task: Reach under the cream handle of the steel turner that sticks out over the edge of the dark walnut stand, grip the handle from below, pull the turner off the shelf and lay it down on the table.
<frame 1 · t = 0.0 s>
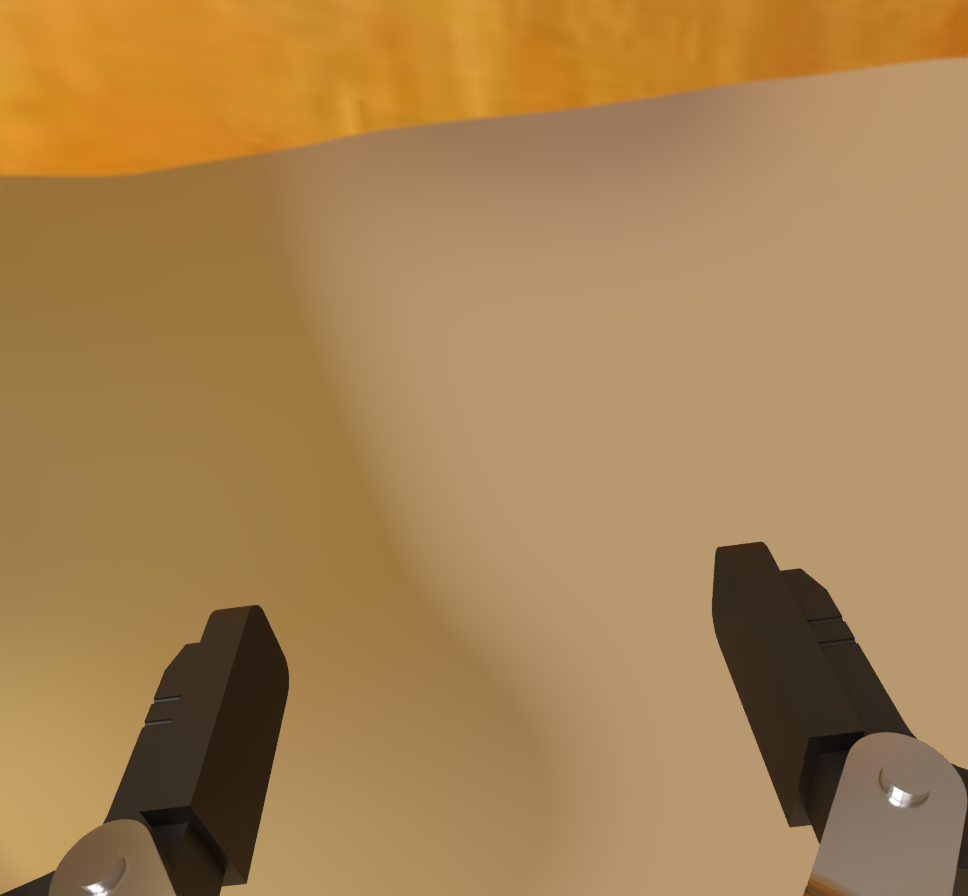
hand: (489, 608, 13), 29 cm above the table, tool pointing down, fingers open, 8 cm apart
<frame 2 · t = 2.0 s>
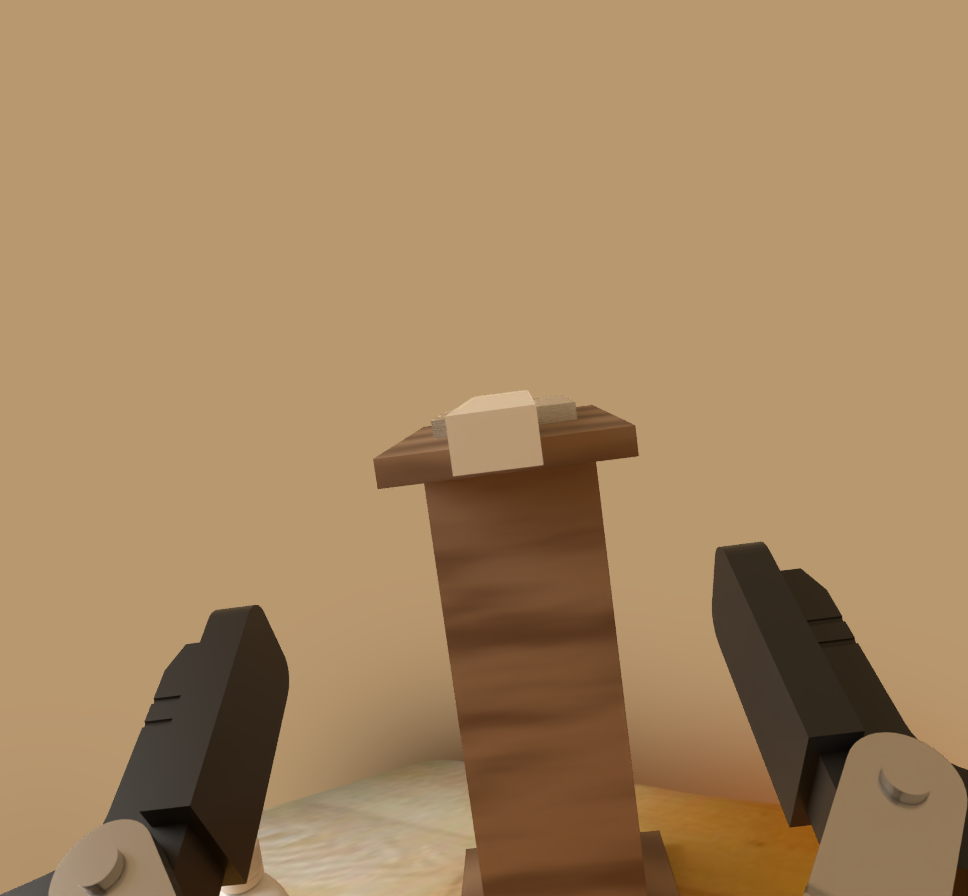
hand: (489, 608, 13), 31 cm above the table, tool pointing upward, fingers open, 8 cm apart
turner: (505, 426, 41), point 32 cm above the table, touching shelf stand
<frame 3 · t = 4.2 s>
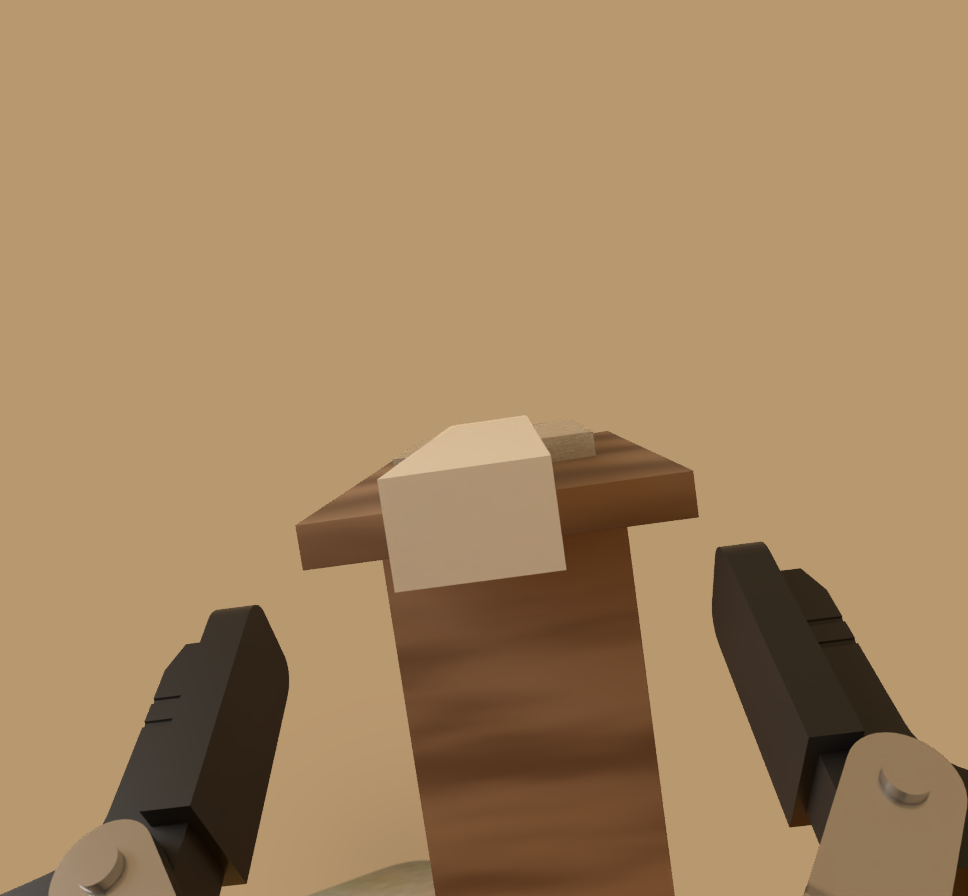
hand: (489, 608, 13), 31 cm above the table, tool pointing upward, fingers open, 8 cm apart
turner: (496, 464, 30), point 32 cm above the table, touching shelf stand
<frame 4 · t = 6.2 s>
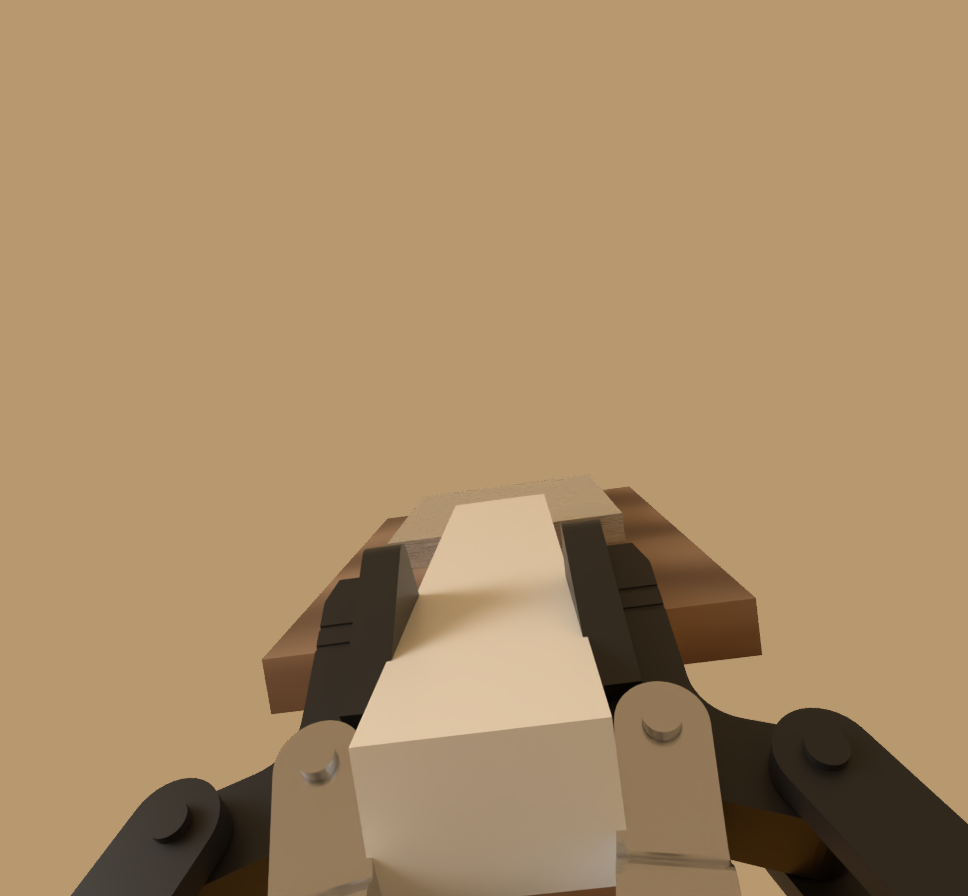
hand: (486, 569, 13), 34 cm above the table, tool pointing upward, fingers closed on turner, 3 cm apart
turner: (507, 544, 26), point 32 cm above the table, touching gripper, shelf stand
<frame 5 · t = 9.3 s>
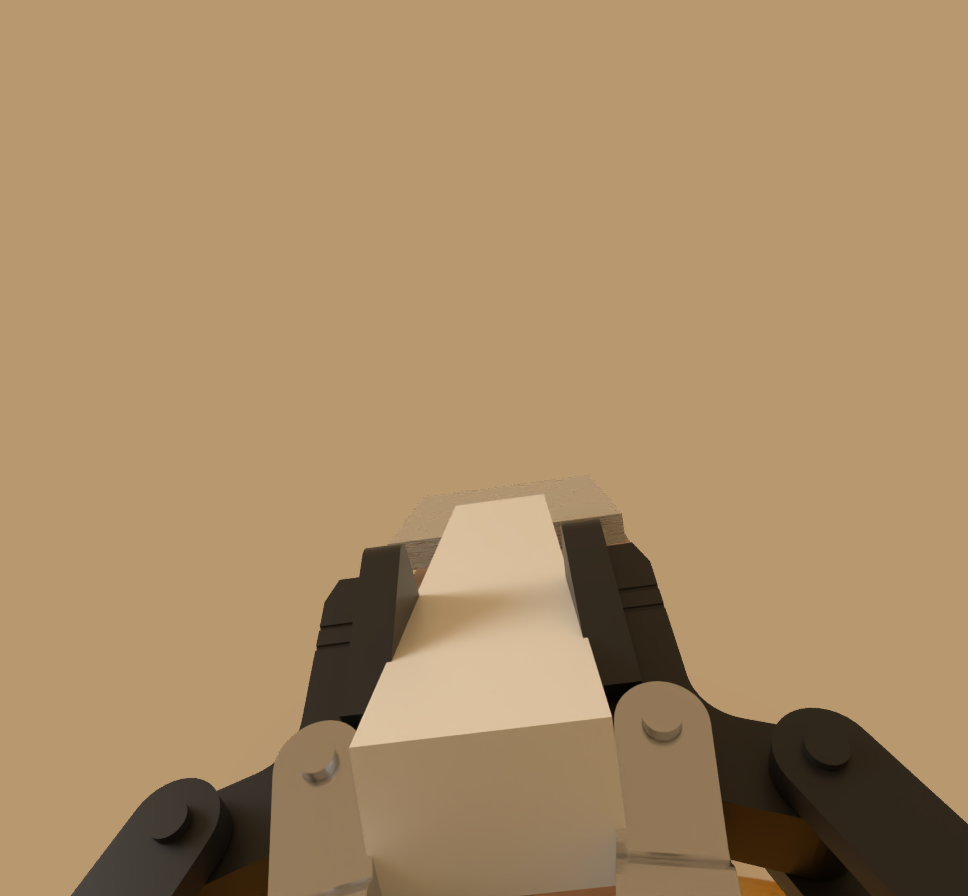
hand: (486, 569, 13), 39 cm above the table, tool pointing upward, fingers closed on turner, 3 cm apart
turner: (507, 544, 26), point 36 cm above the table, touching gripper
when the fingers open (14 cm above the table, at t = 12.8 s): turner drops 5 cm, on the table.
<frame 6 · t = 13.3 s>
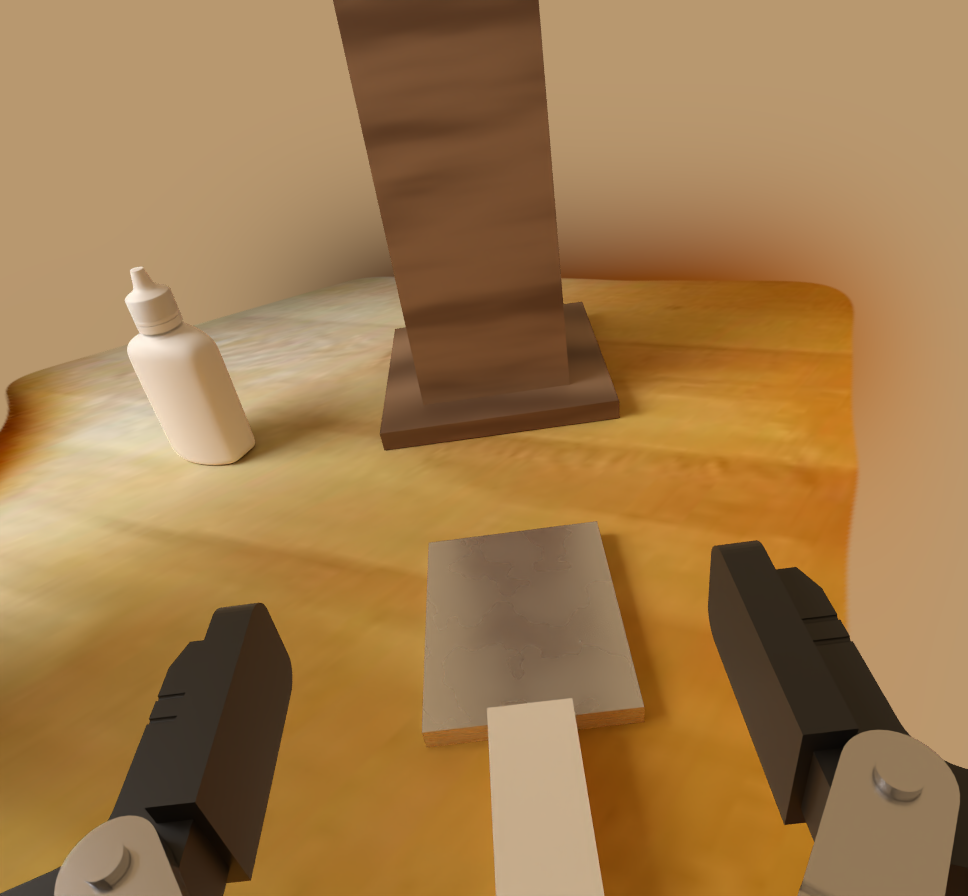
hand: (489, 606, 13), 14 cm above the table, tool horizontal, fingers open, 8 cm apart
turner: (529, 689, 28), on the table
shelf stand: (494, 375, 48), on the table
eye dropper bottle: (216, 451, 45), on the table
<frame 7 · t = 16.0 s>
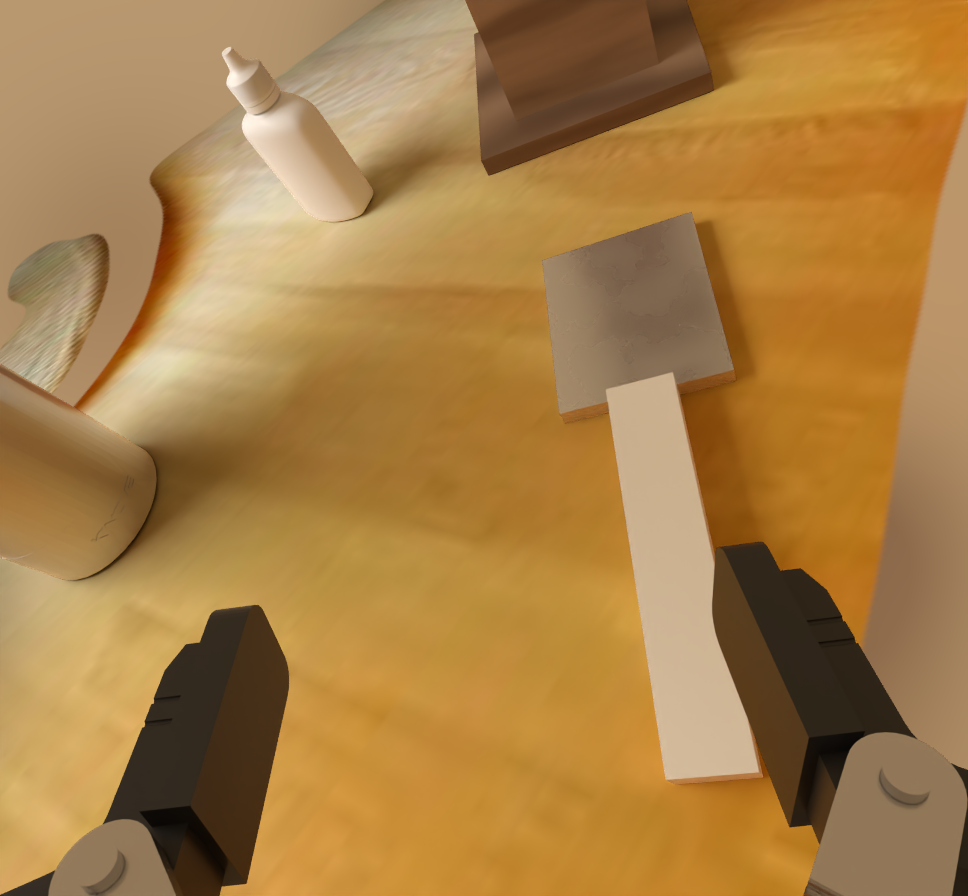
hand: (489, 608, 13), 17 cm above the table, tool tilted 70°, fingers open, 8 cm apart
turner: (641, 369, 34), on the table
shelf stand: (582, 67, 47), on the table
eye dropper bottle: (343, 206, 50), on the table
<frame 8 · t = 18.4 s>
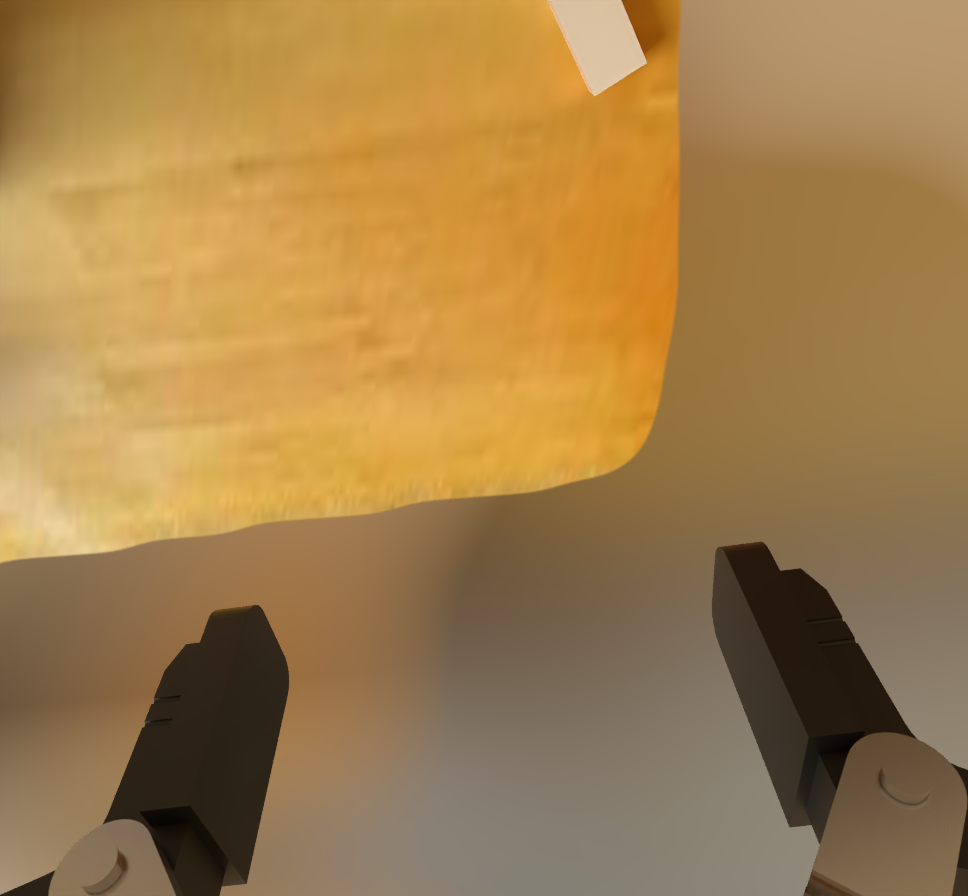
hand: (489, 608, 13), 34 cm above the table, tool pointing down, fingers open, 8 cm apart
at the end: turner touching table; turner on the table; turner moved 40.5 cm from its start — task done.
